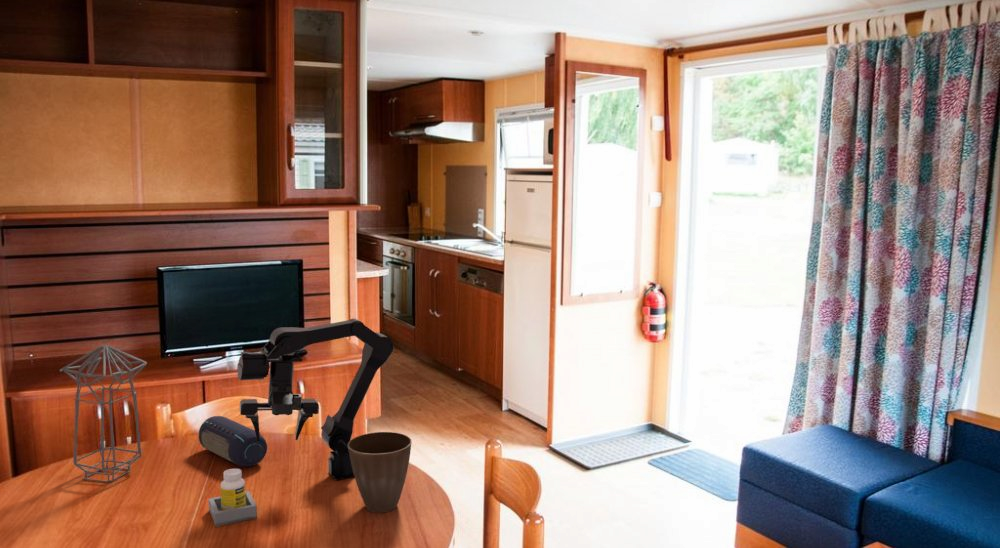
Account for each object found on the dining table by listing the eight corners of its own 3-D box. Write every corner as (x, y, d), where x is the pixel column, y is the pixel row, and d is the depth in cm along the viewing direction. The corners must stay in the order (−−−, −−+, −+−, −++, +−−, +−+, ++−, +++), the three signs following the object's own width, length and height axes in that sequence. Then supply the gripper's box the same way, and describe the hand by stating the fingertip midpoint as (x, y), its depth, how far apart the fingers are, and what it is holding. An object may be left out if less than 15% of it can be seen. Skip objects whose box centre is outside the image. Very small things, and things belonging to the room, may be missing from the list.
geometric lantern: (106, 461, 213) (101, 336, 209) (154, 469, 209) (151, 342, 205) (59, 483, 198) (53, 349, 194) (110, 491, 194) (106, 355, 190)
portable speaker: (193, 451, 222) (191, 417, 220) (226, 442, 229) (224, 409, 227) (238, 475, 205) (236, 438, 203) (272, 464, 212) (270, 429, 211)
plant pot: (360, 525, 176) (358, 458, 174) (341, 500, 189) (340, 437, 187) (421, 512, 183) (420, 447, 181) (399, 489, 196) (398, 428, 194)
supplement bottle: (238, 517, 178) (236, 477, 177) (216, 515, 179) (214, 475, 178) (250, 507, 183) (248, 468, 182) (229, 505, 185) (227, 466, 183)
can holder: (249, 502, 188) (249, 491, 187) (257, 518, 180) (256, 505, 179) (209, 510, 183) (208, 498, 183) (215, 526, 175) (214, 514, 175)
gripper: (243, 386, 183) (240, 451, 184) (323, 385, 190) (319, 448, 191) (241, 376, 193) (237, 438, 194) (317, 376, 200) (313, 436, 201)
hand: (277, 440), depth 195 cm, fingers open, 9 cm apart
